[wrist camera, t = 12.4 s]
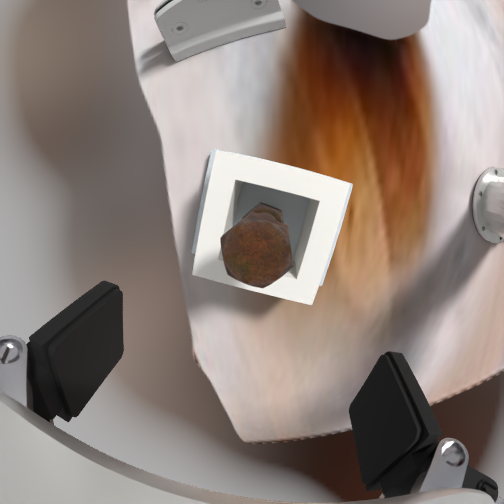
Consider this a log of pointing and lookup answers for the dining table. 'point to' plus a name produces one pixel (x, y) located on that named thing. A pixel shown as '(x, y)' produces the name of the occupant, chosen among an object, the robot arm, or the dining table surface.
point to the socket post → (279, 196)
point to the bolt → (258, 247)
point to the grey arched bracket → (213, 23)
